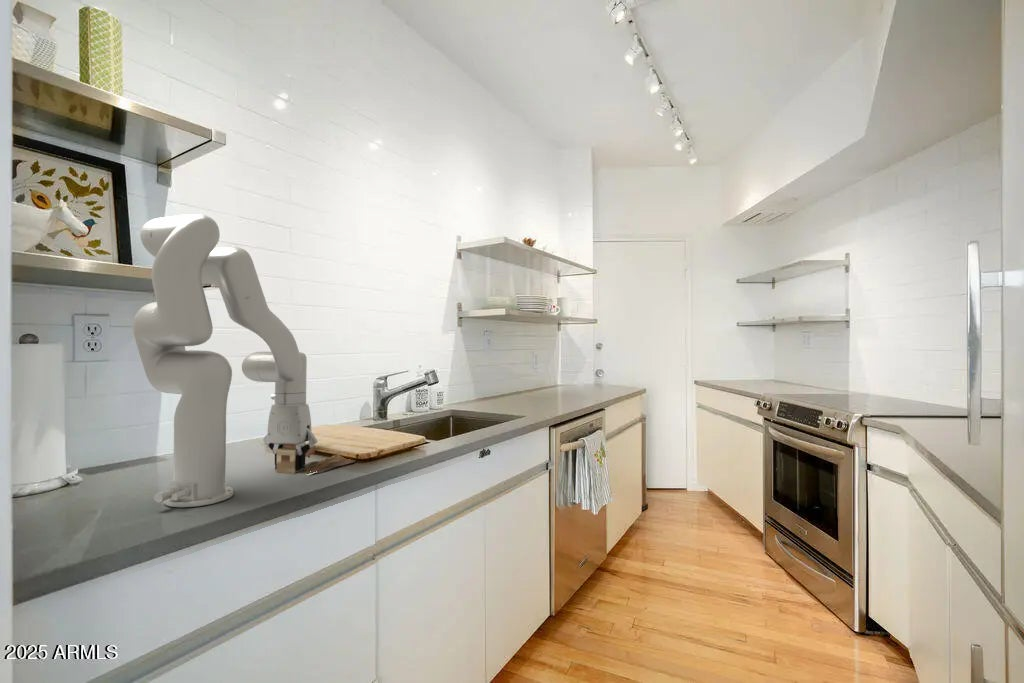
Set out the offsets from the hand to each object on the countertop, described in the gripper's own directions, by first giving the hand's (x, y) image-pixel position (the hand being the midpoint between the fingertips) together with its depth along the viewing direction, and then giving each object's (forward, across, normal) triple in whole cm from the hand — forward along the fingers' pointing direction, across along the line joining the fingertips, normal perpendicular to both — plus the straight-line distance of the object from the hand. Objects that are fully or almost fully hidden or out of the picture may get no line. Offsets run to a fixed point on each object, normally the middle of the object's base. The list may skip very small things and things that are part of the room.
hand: (289, 468), depth 132 cm
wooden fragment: (+1, +7, +9) cm, 11 cm away
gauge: (+1, 0, +4) cm, 4 cm away
